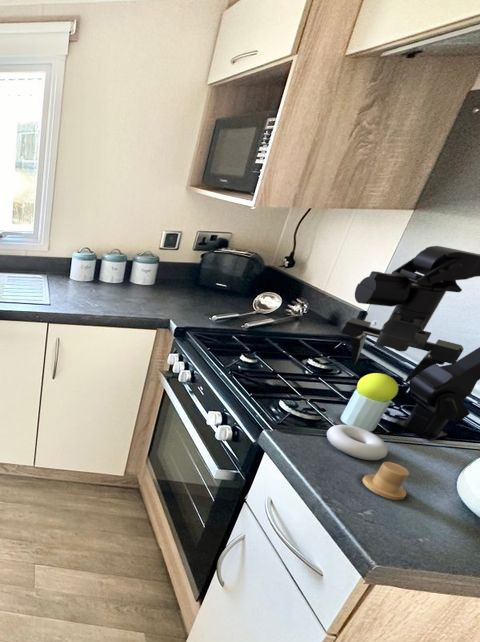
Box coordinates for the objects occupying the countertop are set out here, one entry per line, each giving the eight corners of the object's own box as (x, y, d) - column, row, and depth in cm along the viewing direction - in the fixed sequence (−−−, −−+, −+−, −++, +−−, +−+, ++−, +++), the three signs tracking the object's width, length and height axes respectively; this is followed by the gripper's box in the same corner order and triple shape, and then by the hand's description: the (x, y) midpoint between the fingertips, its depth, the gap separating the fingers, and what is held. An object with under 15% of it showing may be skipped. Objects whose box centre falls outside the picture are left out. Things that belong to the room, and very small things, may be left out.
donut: (395, 466, 84) (359, 435, 93) (404, 453, 83) (367, 423, 92) (344, 461, 85) (313, 431, 94) (352, 449, 84) (319, 419, 92)
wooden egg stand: (375, 474, 82) (387, 454, 80) (412, 496, 77) (426, 476, 74) (354, 480, 80) (366, 460, 78) (391, 503, 75) (405, 482, 73)
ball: (373, 375, 97) (377, 362, 92) (404, 394, 92) (410, 382, 88) (347, 392, 98) (350, 381, 93) (377, 412, 93) (381, 401, 89)
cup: (351, 414, 101) (366, 386, 97) (380, 429, 96) (397, 400, 92) (334, 418, 99) (349, 390, 96) (362, 433, 94) (379, 404, 90)
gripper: (347, 302, 88) (317, 366, 95) (475, 332, 75) (429, 403, 82) (361, 293, 94) (332, 354, 101) (482, 320, 81) (438, 387, 88)
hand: (378, 373), depth 93 cm, fingers open, 9 cm apart
